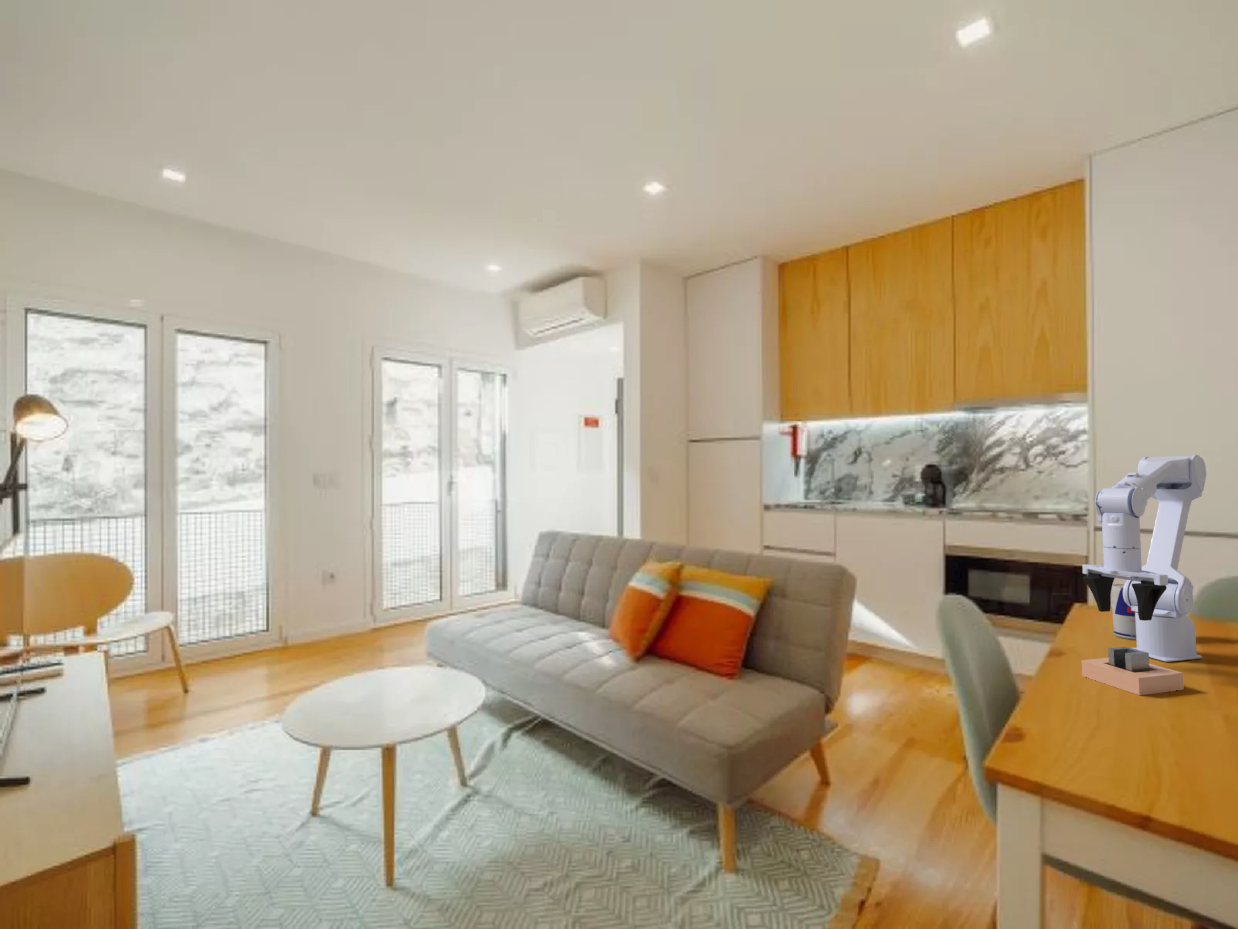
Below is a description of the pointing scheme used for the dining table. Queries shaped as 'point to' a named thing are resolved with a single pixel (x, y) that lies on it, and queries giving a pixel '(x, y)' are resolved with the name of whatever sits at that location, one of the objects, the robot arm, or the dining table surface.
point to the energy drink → (1122, 615)
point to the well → (1133, 677)
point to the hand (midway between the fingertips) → (1124, 615)
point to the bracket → (1129, 659)
